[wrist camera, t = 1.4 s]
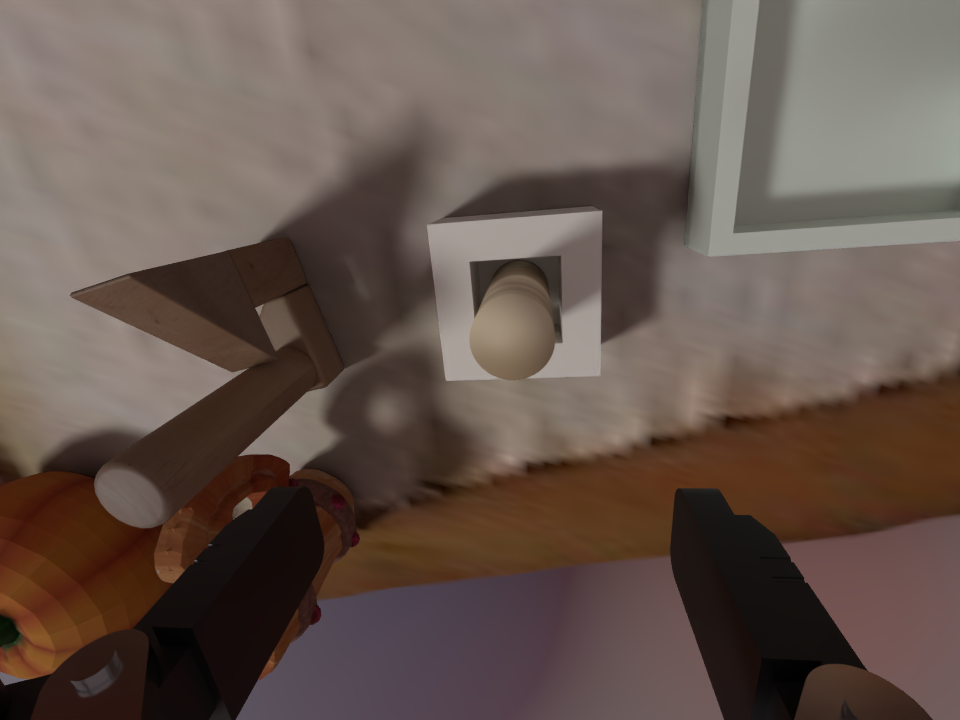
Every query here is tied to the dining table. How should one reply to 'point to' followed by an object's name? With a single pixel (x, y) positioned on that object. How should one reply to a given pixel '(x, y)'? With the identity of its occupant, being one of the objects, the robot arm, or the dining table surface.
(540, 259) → the holder
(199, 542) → the mug
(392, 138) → the dining table surface
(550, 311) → the dowel
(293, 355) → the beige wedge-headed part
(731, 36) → the tray
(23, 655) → the pumpkin
